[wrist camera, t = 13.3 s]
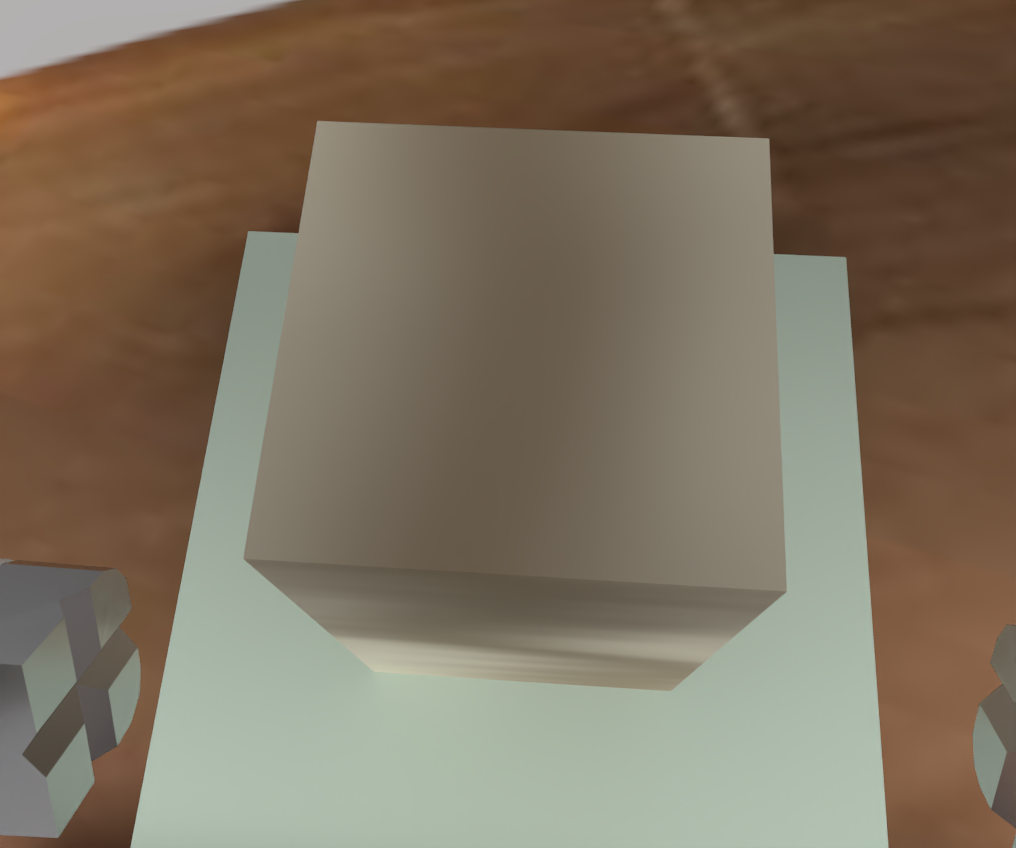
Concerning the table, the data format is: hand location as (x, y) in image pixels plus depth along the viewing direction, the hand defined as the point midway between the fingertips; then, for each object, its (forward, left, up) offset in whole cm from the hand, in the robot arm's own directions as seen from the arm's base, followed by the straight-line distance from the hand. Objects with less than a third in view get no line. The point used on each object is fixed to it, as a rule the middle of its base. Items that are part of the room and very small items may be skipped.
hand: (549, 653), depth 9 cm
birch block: (0, -3, -7) cm, 8 cm away
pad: (+1, -3, -8) cm, 9 cm away
